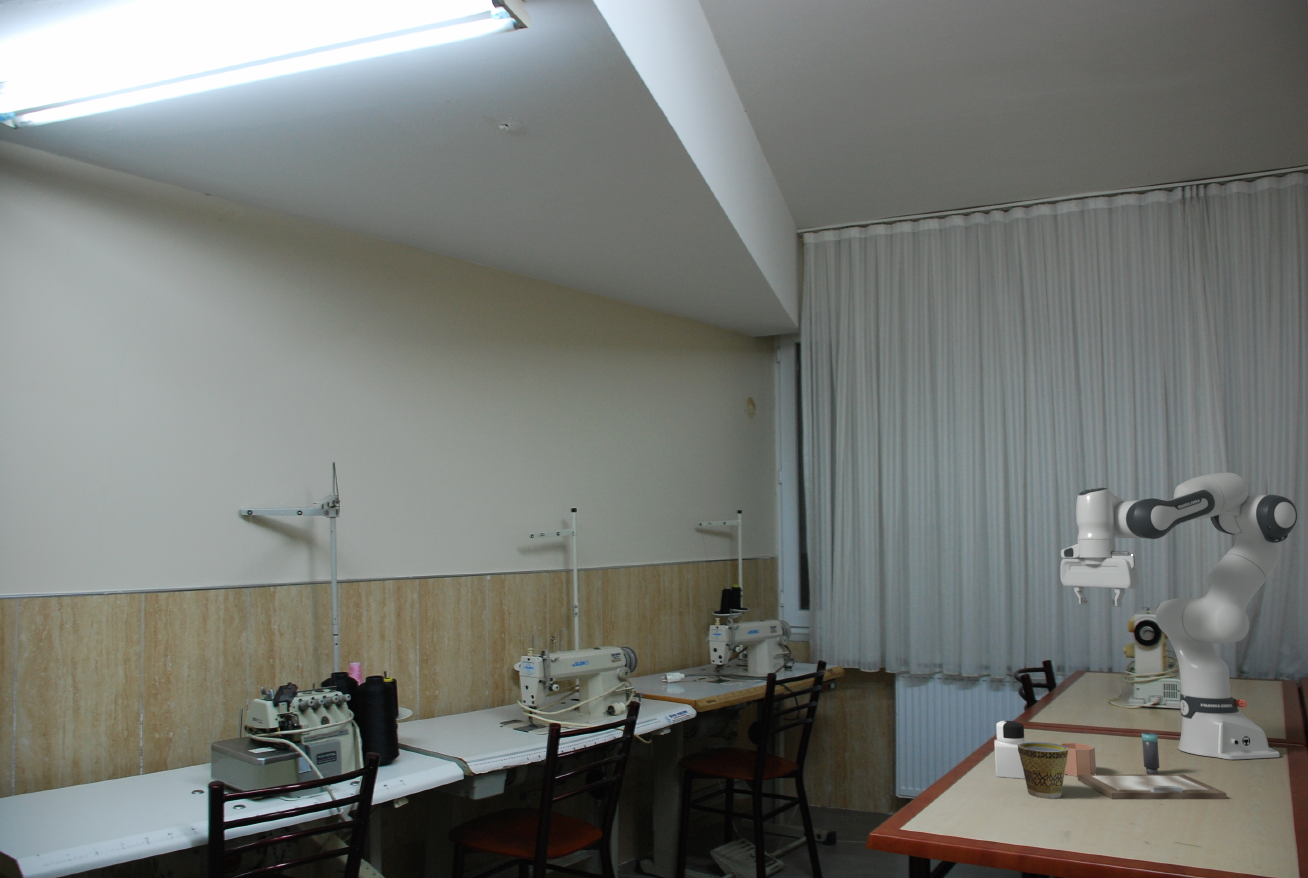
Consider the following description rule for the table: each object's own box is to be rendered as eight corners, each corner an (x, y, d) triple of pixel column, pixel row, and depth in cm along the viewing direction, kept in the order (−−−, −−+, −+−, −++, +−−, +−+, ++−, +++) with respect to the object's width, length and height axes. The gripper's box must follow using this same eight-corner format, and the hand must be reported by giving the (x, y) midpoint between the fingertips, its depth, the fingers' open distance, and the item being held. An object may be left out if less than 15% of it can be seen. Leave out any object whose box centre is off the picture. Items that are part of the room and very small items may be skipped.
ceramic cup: (1081, 798, 195) (1078, 749, 196) (1041, 802, 192) (1038, 752, 193) (1039, 783, 207) (1037, 737, 208) (1001, 787, 204) (999, 740, 205)
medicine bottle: (1027, 772, 218) (1025, 720, 219) (1029, 779, 211) (1026, 725, 212) (995, 770, 220) (993, 718, 221) (996, 777, 213) (993, 723, 215)
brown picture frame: (1183, 779, 210) (1183, 769, 210) (1226, 798, 194) (1225, 787, 195) (1077, 779, 210) (1077, 769, 211) (1111, 798, 194) (1111, 788, 195)
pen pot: (1085, 768, 221) (1084, 742, 222) (1100, 776, 214) (1099, 749, 214) (1054, 768, 221) (1053, 742, 222) (1068, 776, 214) (1066, 749, 214)
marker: (1155, 771, 218) (1152, 732, 219) (1162, 775, 215) (1160, 735, 216) (1141, 771, 218) (1138, 732, 219) (1148, 775, 215) (1146, 735, 216)
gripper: (1142, 551, 230) (1145, 607, 228) (1071, 550, 248) (1074, 603, 246) (1125, 551, 227) (1129, 608, 226) (1055, 550, 245) (1058, 603, 243)
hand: (1099, 605), depth 236 cm, fingers open, 8 cm apart
